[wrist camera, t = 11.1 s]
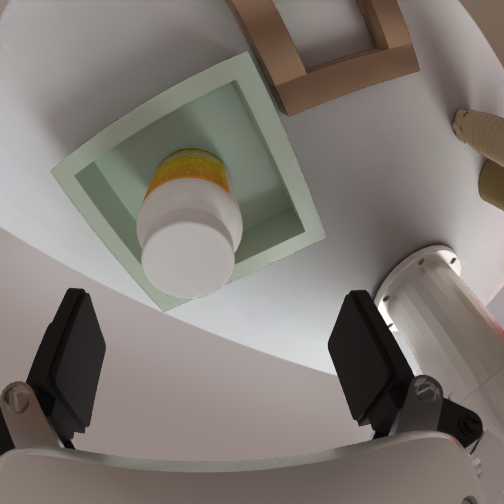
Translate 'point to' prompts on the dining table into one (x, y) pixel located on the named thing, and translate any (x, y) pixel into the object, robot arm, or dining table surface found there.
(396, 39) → the holder
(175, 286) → the supplement bottle
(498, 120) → the handle
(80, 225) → the dining table surface
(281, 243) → the bin
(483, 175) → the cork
